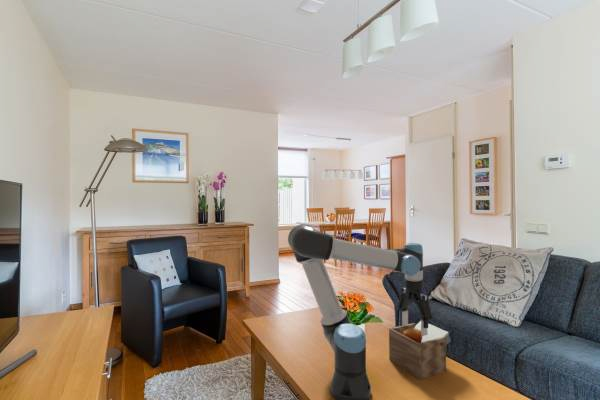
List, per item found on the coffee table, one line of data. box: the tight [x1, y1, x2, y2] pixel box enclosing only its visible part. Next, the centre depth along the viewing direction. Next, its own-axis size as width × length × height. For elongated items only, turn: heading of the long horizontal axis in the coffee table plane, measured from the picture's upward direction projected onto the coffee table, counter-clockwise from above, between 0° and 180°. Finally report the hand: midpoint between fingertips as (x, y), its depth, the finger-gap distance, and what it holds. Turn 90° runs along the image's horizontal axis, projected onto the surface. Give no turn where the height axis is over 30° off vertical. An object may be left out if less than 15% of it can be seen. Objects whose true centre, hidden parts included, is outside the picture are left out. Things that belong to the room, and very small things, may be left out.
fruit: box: [403, 328, 422, 343], centre depth 139 cm, size 8×8×8 cm
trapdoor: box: [413, 320, 452, 346], centre depth 142 cm, size 17×15×5 cm
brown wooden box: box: [388, 322, 447, 381], centre depth 140 cm, size 15×19×14 cm
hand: (414, 330), depth 140 cm, fingers open, 10 cm apart
